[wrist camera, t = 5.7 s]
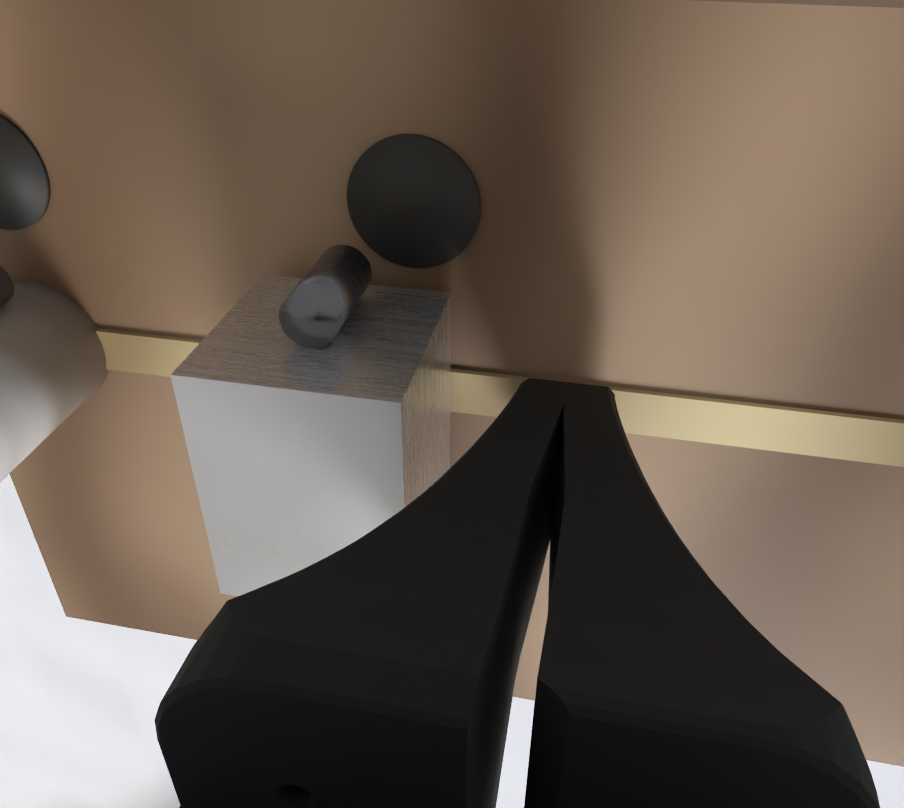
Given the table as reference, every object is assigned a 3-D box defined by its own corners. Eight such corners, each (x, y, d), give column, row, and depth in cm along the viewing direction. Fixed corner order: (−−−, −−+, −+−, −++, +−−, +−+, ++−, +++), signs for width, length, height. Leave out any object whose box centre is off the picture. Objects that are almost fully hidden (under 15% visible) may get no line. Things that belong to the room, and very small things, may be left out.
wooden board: (1328, 4, 10) (1801, 110, 6) (929, 711, 18) (1009, 960, 14) (-112, -42, 13) (-449, 4, 9) (100, 572, 21) (-30, 740, 17)
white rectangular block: (451, 242, 12) (398, 345, 9) (450, 494, 14) (408, 624, 12) (256, 225, 12) (157, 318, 10) (291, 472, 15) (220, 593, 12)
